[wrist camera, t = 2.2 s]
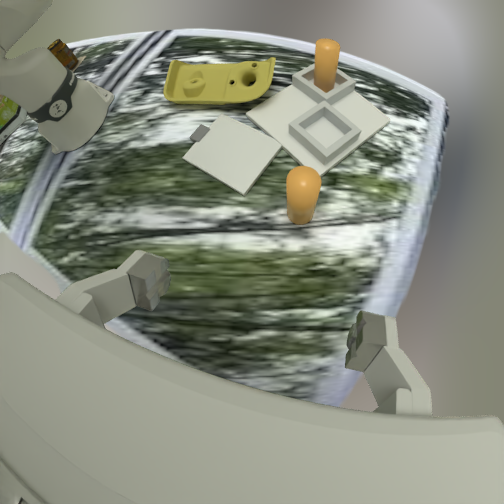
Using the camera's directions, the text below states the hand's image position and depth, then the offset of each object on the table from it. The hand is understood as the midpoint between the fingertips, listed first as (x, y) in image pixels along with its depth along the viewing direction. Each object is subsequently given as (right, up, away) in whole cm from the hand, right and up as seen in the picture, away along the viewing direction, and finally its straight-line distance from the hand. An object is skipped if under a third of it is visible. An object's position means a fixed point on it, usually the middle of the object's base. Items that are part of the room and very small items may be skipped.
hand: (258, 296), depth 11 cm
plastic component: (-6, +31, +33) cm, 45 cm away
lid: (-3, +17, +29) cm, 34 cm away
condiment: (-56, +59, +44) cm, 93 cm away
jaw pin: (+6, +7, +26) cm, 28 cm away
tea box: (-78, +44, +44) cm, 100 cm away
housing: (+11, +24, +29) cm, 39 cm away
